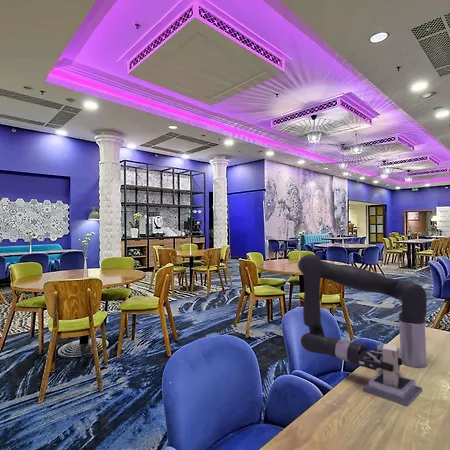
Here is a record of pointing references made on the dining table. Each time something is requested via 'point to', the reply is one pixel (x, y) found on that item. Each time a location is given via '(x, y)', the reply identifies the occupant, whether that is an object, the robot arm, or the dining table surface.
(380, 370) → the cup
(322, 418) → the dining table surface
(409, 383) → the tray
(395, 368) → the skincare box
